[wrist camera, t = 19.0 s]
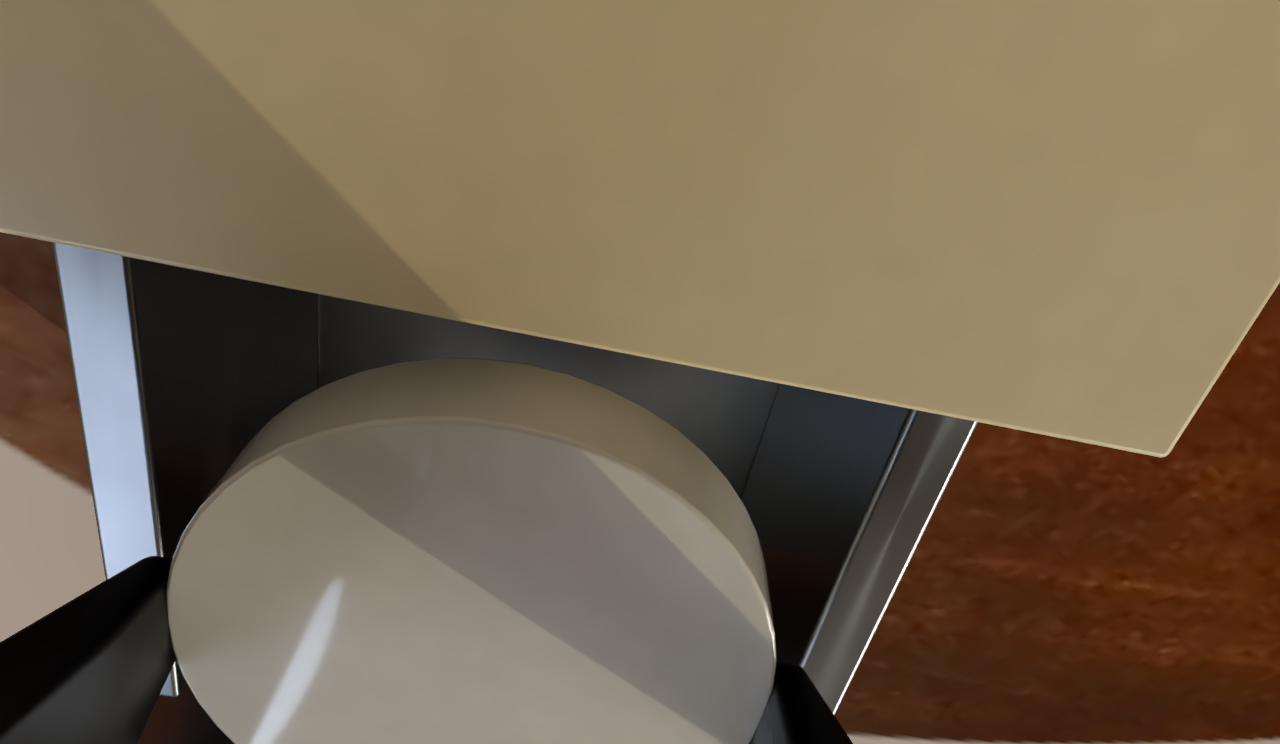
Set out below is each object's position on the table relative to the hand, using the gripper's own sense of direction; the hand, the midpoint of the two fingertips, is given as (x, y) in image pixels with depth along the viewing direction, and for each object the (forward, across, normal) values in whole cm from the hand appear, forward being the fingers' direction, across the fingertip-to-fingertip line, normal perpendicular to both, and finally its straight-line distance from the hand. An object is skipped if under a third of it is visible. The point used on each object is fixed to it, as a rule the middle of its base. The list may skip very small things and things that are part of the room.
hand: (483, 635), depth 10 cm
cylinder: (+1, 0, 0) cm, 1 cm away
